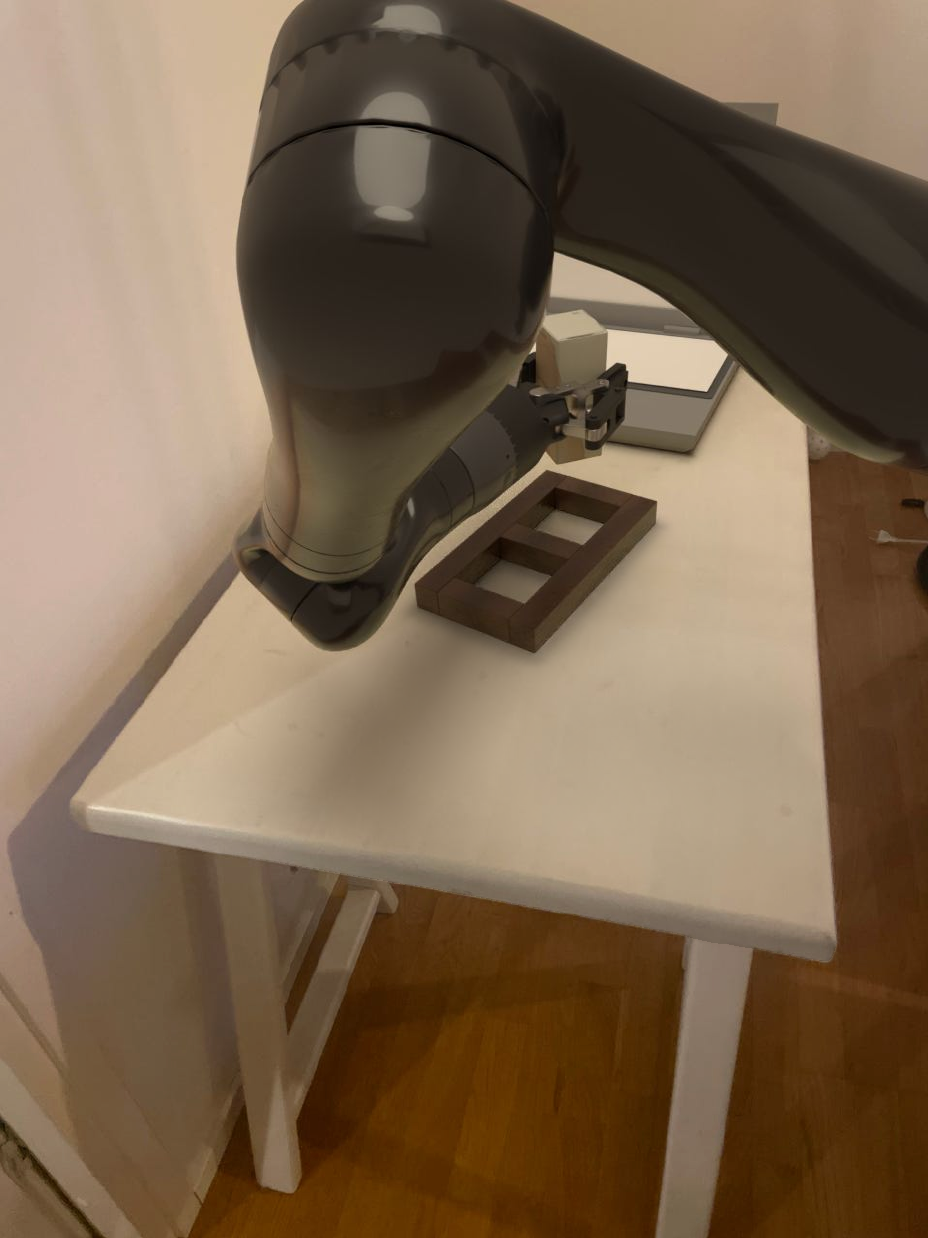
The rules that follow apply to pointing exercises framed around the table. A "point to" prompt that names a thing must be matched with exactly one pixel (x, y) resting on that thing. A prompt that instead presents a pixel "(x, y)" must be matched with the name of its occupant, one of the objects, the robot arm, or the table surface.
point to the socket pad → (536, 558)
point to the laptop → (651, 346)
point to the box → (570, 367)
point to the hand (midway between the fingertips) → (584, 366)
